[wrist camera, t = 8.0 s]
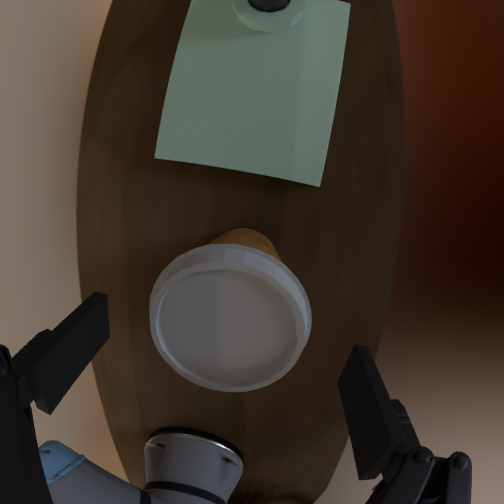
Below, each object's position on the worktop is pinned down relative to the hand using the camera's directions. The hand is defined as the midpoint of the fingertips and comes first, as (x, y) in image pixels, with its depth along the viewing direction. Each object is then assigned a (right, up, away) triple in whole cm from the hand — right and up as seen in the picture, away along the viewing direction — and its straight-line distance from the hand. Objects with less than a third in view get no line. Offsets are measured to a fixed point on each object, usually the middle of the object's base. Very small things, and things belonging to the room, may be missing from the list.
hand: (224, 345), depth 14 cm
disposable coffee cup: (+1, +4, +13) cm, 13 cm away
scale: (+2, +20, +7) cm, 21 cm away
